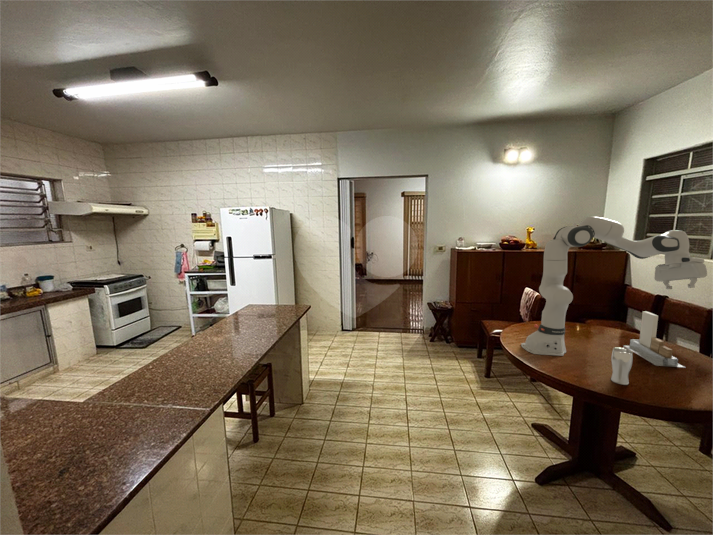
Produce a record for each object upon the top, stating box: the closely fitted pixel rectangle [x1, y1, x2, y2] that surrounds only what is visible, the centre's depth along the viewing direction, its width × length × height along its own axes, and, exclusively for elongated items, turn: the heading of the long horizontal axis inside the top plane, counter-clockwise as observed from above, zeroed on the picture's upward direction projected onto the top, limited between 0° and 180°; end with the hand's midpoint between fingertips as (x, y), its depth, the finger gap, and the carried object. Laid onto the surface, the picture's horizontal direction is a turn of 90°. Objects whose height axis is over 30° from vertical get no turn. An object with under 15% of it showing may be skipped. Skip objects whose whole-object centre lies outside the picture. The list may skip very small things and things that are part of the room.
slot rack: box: [622, 338, 686, 369], centre depth 151 cm, size 12×25×6 cm, turn 166°
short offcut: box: [659, 345, 673, 358], centre depth 143 cm, size 2×5×8 cm, turn 166°
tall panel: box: [638, 310, 659, 349], centre depth 154 cm, size 2×8×22 cm, turn 166°
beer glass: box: [610, 346, 634, 386], centre depth 129 cm, size 7×7×15 cm
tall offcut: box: [651, 337, 665, 353], centre depth 148 cm, size 2×5×10 cm, turn 166°
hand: (679, 288), depth 143 cm, fingers open, 8 cm apart
